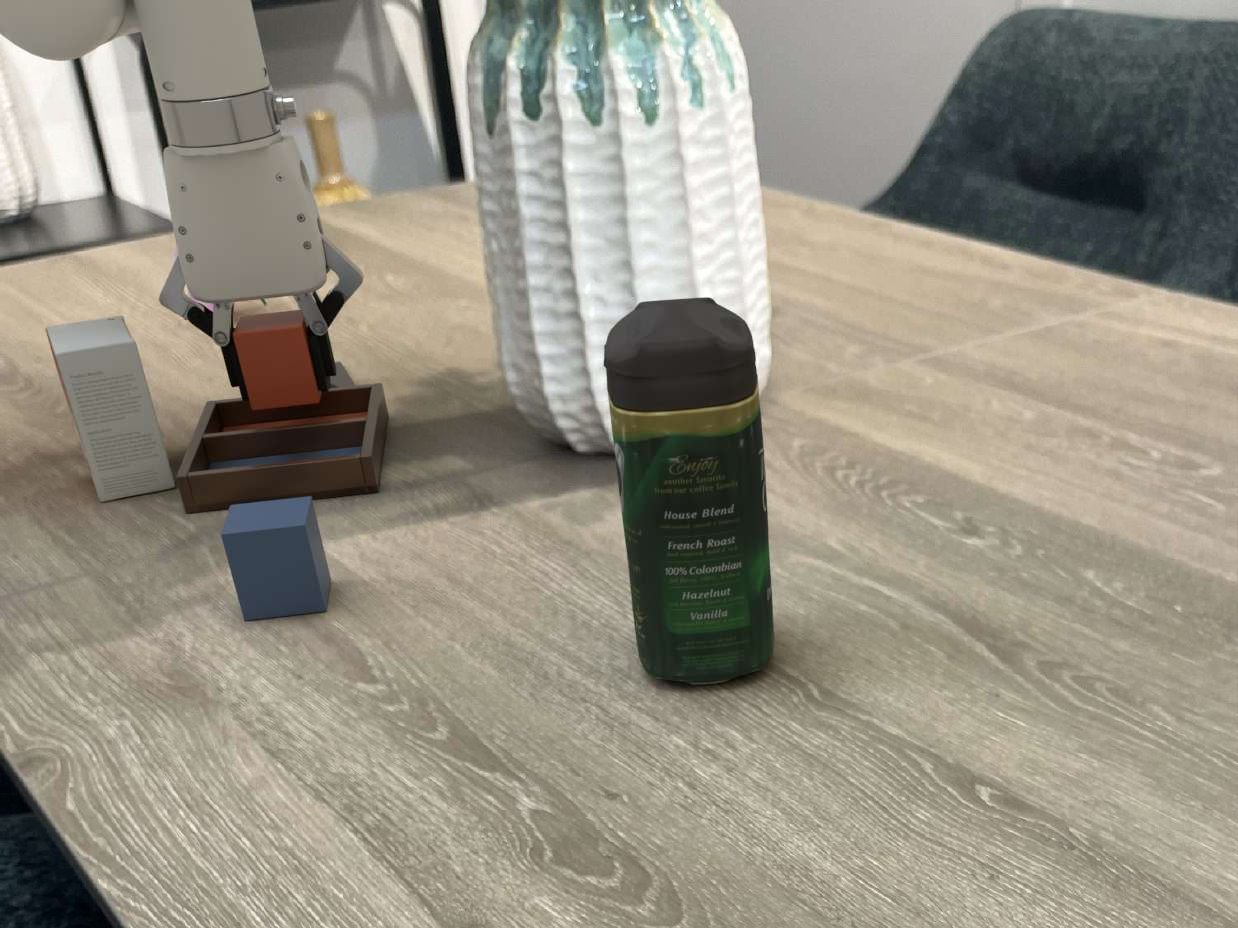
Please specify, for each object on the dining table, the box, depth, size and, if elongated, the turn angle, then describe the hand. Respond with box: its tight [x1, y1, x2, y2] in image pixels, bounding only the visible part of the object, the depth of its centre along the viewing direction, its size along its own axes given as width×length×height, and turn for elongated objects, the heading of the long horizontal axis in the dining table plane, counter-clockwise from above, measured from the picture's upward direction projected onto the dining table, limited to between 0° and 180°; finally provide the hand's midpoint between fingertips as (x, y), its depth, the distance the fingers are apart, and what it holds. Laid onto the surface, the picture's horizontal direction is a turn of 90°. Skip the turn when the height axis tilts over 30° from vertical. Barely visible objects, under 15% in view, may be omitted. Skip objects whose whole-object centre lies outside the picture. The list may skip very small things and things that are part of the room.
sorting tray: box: [175, 382, 389, 514], centre depth 128 cm, size 14×18×3 cm
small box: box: [44, 315, 176, 503], centre depth 124 cm, size 8×6×10 cm
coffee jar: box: [603, 296, 775, 685], centre depth 92 cm, size 10×8×19 cm
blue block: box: [220, 496, 332, 622], centre depth 106 cm, size 5×5×6 cm
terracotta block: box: [233, 309, 322, 411], centre depth 128 cm, size 5×5×6 cm
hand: (286, 388), depth 129 cm, fingers closed on terracotta block, 5 cm apart
